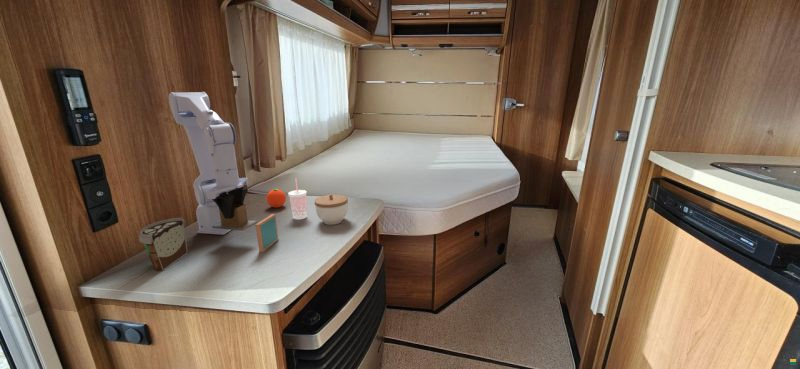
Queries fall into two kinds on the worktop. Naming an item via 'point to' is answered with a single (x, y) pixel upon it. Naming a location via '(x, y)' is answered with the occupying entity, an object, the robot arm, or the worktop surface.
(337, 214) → the lidded jar
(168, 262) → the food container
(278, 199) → the clementine
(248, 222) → the tan block on plate
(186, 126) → the robot arm
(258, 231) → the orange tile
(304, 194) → the beverage cup
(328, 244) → the worktop surface
